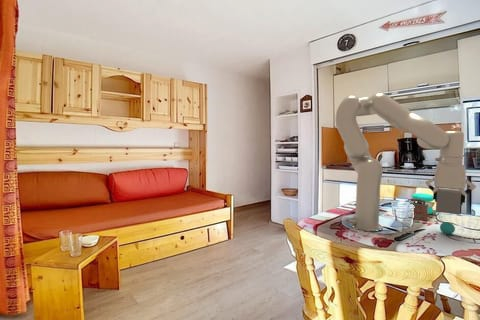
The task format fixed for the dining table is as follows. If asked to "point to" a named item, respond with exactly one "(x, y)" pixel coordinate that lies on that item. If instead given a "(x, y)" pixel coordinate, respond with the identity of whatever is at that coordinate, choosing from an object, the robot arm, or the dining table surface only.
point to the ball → (447, 228)
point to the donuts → (424, 197)
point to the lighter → (420, 209)
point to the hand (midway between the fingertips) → (448, 202)
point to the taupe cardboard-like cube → (448, 201)
